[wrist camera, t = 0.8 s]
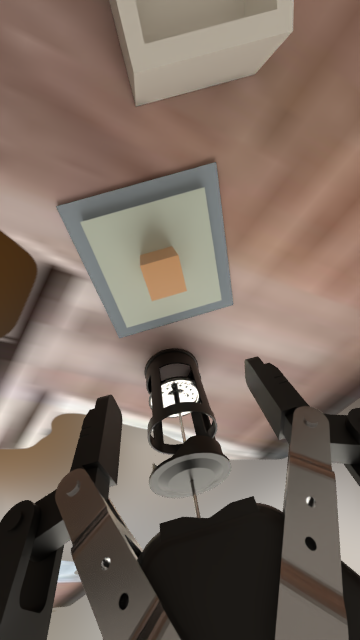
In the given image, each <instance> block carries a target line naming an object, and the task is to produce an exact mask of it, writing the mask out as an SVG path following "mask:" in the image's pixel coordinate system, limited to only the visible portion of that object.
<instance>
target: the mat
mask: <svg viewBox="0 0 360 640" xmlns="http://www.w3.org/2000/svg"><path fill="white" fill-rule="evenodd" d="M204 187H205V193H206V200H207V207H208V213H209V220H210V226H211V233H212V240H213V246H214V253H215V259H216V266H217V273H218V279H219V286H220V292H221V299H222V300H220V301H217V302H214V303H210V304H207V305H203V306H200V307H197V308H193V309H190V310H186V311H183V312H179V313H176V314H173V315H169V316H166V317H162V318H159V319H156V320H152V321H149V322H145V323H142V324H138V325H135V326H132V327H128V328H127V327H126V324H125V322H124V320H123V318H122V315H121V313H120V311H119V309H118V306H117V304H116V302H115V300H114V297H113V295H112V293H111V291H110V288H109V286H108V284H107V282H106V279H105V277H104V275H103V273H102V270H101V268H100V266H99V264H98V261H97V259H96V257H95V255H94V252H93V250H92V248H91V246H90V243H89V241H88V239H87V237H86V234H85V232H84V230H83V228H82V225H81V223H80V222H82V221H86V220H89V219H93V218H97V217H100V216H104V215H107V214H111V213H114V212H118V211H122V210H125V209H129V208H132V207H136V206H139V205H143V204H146V203H150V202H154V201H157V200H161V199H164V198H168V197H171V196H175V195H178V194H182V193H186V192H189V191H193V190H196V189H200V188H204ZM56 208H57V210H58V212H59V214H60V216H61V218H62V220H63V222H64V224H65V226H66V228H67V230H68V232H69V235H70V237H71V239H72V241H73V243H74V245H75V247H76V249H77V251H78V253H79V255H80V257H81V259H82V262H83V264H84V266H85V268H86V270H87V272H88V274H89V276H90V278H91V280H92V282H93V284H94V286H95V288H96V291H97V293H98V295H99V297H100V299H101V301H102V303H103V305H104V307H105V309H106V311H107V313H108V315H109V318H110V320H111V322H112V324H113V326H114V328H115V330H116V332H117V334H118V336H119V338H122V337H125V336H129V335H132V334H136V333H139V332H143V331H146V330H149V329H153V328H156V327H160V326H163V325H166V324H170V323H173V322H177V321H180V320H183V319H187V318H190V317H194V316H197V315H200V314H204V313H207V312H211V311H214V310H217V309H221V308H224V307H228V306H231V305H233V298H232V290H231V281H230V273H229V265H228V257H227V248H226V240H225V232H224V224H223V215H222V207H221V199H220V190H219V182H218V174H217V166H216V162H214V163H211V164H207V165H203V166H200V167H196V168H193V169H189V170H185V171H182V172H178V173H175V174H171V175H168V176H164V177H160V178H157V179H153V180H150V181H146V182H142V183H139V184H135V185H132V186H128V187H125V188H121V189H117V190H114V191H110V192H107V193H103V194H99V195H96V196H92V197H89V198H85V199H81V200H78V201H74V202H71V203H67V204H64V205H60V206H56Z"/></svg>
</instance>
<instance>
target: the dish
mask: <svg viewBox="0 0 360 640" xmlns="http://www.w3.org/2000/svg"><path fill="white" fill-rule="evenodd" d="M109 3H110V7H111V11H112V15H113V19H114V23H115V27H116V31H117V34H118V38H119V42H120V46H121V50H122V54H123V58H124V62H125V66H126V70H127V74H128V78H129V82H130V86H131V90H132V94H133V98H134V102H135V106H136V107H137V106H140V105H144V104H148V103H151V102H155V101H159V100H162V99H166V98H170V97H173V96H177V95H181V94H184V93H188V92H192V91H196V90H199V89H203V88H207V87H210V86H214V85H218V84H221V83H225V82H229V81H232V80H236V79H240V78H243V77H247V76H251V75H255V73H256V72H257V71H258V70H259V69H260V68H261V67H262V65H263V64H264V63H265V62H266V61H267V60H268V59H269V58H270V56H271V55H272V54H273V53H274V52H275V51H276V50H277V48H278V47H279V46H280V45H281V44H282V43H283V42H284V41H285V39H286V38H287V37H288V36H289V35H290V34H291V33H292V31H293V9H294V0H109Z"/></svg>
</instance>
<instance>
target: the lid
mask: <svg viewBox="0 0 360 640" xmlns="http://www.w3.org/2000/svg"><path fill="white" fill-rule="evenodd" d="M80 223H81V225H82V228H83V230H84V232H85V234H86V237H87V239H88V241H89V243H90V246H91V248H92V250H93V252H94V255H95V257H96V259H97V261H98V264H99V266H100V268H101V270H102V273H103V275H104V277H105V279H106V282H107V284H108V286H109V288H110V291H111V293H112V295H113V297H114V300H115V302H116V304H117V306H118V309H119V311H120V313H121V315H122V318H123V320H124V322H125V324H126V327H127V328H128V327H132V326H135V325H138V324H142V323H145V322H149V321H152V320H156V319H159V318H162V317H166V316H169V315H173V314H176V313H179V312H183V311H186V310H190V309H193V308H197V307H200V306H203V305H207V304H210V303H214V302H217V301H220V300H222V299H221V292H220V286H219V279H218V273H217V266H216V259H215V253H214V246H213V240H212V233H211V226H210V220H209V213H208V207H207V200H206V193H205V187H204V188H200V189H196V190H193V191H189V192H186V193H182V194H178V195H175V196H171V197H168V198H164V199H161V200H157V201H154V202H150V203H146V204H143V205H139V206H136V207H132V208H129V209H125V210H122V211H118V212H114V213H111V214H107V215H104V216H100V217H97V218H93V219H89V220H86V221H82V222H80Z"/></svg>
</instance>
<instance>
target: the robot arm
mask: <svg viewBox="0 0 360 640" xmlns="http://www.w3.org/2000/svg"><path fill="white" fill-rule="evenodd" d="M245 379H246V383H247V385H248V387H249V389H250V391H251V393H252V394H253V396H254V398H255V400H256V401H257V403H258V405H259V406H260V408H261V410H262V412H263V413H264V415H265V417H266V419H267V420H268V422H269V424H270V425H271V427H272V429H273V431H274V432H275V434H276V436H277V437H278V439H279V440H280V439H284V438H286V440H287V441H288V443H289V453H288V464H287V474H286V485H285V494H284V504H283V512H281V511H280V510H278V509H276V508H274V507H272V506H269V505H266V504H261V503H256V502H255V499H254V496H252V497H249V498H245V499H242V500H239V501H236V502H232V503H230V504H229V505H227V506H226V507H224V508H223V509H221V510H220V511H219V512H217V513H216V514H214V515H213V516H212V517H210V518H194V517H181V518H178V519H174V520H171V521H167V522H164V523H161V524H160V532H159V533H158V534H157V535H156V536H155V537H153V538H152V539H151V540H150V542H149V543H148V544H147V545H146V547H145V548H144V550H142V548H141V547H140V545H139V544H138V542H137V541H136V539H135V538H134V536H133V535H132V534H131V532H130V531H129V529H128V528H127V526H126V525H125V523H124V521H123V520H122V518H121V516H120V515H119V513H118V512H117V510H116V508H115V507H114V505H113V503H112V502H111V500H110V499H109V497H108V494H109V487H111V486H115V485H117V477H118V466H119V454H120V442H121V430H122V414H121V411H120V409H119V407H118V405H117V403H116V401H115V399H114V397H113V396H112V395H107V396H104V397H100V398H98V399H97V401H96V405H95V409H92V410H89V412H88V414H87V415H86V417H85V418H84V421H83V425H82V430H81V433H80V438H79V440H78V444H77V448H76V452H75V455H74V459H73V463H72V467H71V470H70V472H69V473H68V474H67V475H66V476H65V477H64V478H63V479H62V480H61V482H60V483H59V485H58V487H57V489H56V490H55V491H53V492H52V493H50V494H48V495H47V496H45V497H44V498H42V499H41V500H39V501H37V502H36V503H33V502H31V501H29V500H25V501H22V502H19V503H18V504H16V505H15V506H13V507H12V508H11V509H10V510H9V511H8V512H7V513H6V515H5V516H4V517H3V519H2V520H1V522H0V640H47V635H48V629H49V624H50V618H51V613H52V608H53V602H54V597H55V591H56V586H57V581H58V575H59V570H60V564H61V559H62V553H63V548H64V544H65V543H67V542H68V541H70V540H71V541H72V544H73V547H72V548H71V554H72V557H73V561H74V563H75V566H76V569H77V571H78V574H79V576H80V579H81V582H82V584H83V587H84V589H85V592H86V595H87V597H88V600H89V602H90V605H91V607H92V610H93V613H94V616H95V618H96V621H97V623H98V626H99V629H100V631H101V634H102V637H103V640H360V576H359V575H358V574H357V573H356V572H354V571H353V570H352V569H351V568H350V567H348V566H347V565H346V564H345V563H344V562H343V561H341V556H340V542H339V526H338V510H337V495H336V480H335V474H334V472H333V471H332V467H331V462H332V463H343V464H344V465H345V467H346V468H347V469H348V471H349V472H350V474H351V475H352V476H353V478H354V479H355V481H356V482H357V483H358V485H359V486H360V408H355V409H352V410H351V411H350V412H349V413H348V415H329V414H324V413H322V412H321V411H319V410H318V409H315V408H313V407H310V406H309V405H308V404H307V403H306V402H305V401H304V399H303V398H302V397H301V396H300V394H299V393H298V392H297V391H296V390H295V388H294V387H293V386H292V385H291V384H290V382H288V380H287V379H286V378H285V376H283V374H282V373H281V371H280V370H279V369H278V368H277V367H275V366H274V365H272V364H270V363H266V364H264V363H263V362H262V361H261V359H260V358H259V357H253V358H249V359H246V360H245Z"/></svg>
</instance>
